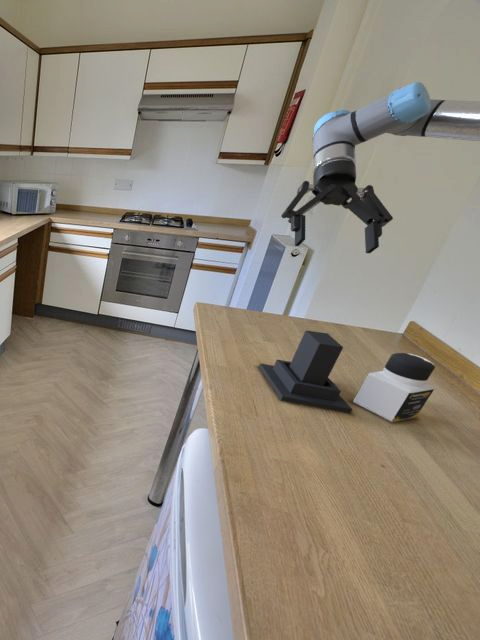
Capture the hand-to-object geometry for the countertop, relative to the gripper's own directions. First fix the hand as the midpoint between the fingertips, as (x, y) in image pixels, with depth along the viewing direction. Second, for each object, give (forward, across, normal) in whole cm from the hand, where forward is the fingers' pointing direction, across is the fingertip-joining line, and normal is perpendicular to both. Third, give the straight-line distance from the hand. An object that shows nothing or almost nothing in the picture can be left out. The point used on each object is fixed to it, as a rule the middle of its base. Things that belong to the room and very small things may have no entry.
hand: (335, 246), depth 91 cm
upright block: (+31, +3, -7) cm, 32 cm away
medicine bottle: (+34, -10, -5) cm, 36 cm away
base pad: (+32, +3, -8) cm, 33 cm away
